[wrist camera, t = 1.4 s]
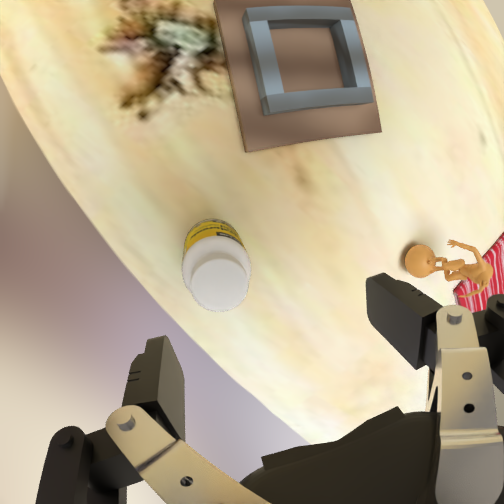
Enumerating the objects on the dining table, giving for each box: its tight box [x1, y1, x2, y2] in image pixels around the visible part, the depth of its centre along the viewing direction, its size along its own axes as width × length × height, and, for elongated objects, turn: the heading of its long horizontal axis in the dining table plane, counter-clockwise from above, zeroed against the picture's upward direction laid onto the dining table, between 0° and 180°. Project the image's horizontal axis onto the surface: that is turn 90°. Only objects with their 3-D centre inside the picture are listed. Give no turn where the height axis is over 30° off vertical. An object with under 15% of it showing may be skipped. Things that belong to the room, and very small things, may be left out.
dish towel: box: [453, 233, 504, 313], centre depth 40 cm, size 17×24×3 cm
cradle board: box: [213, 0, 382, 152], centre depth 24 cm, size 16×14×4 cm
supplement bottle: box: [182, 219, 251, 312], centre depth 25 cm, size 5×5×10 cm
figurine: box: [405, 240, 493, 297], centre depth 29 cm, size 8×6×12 cm
